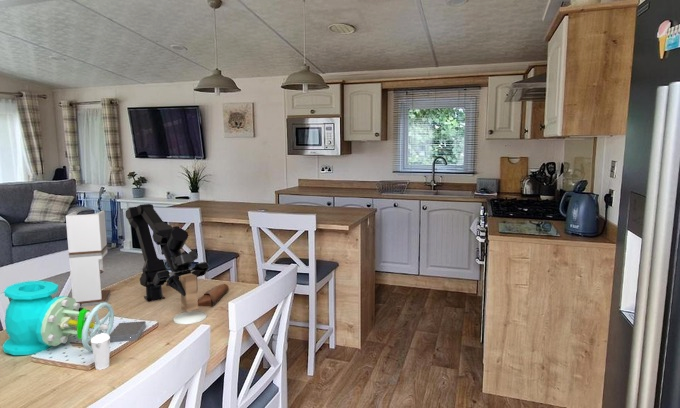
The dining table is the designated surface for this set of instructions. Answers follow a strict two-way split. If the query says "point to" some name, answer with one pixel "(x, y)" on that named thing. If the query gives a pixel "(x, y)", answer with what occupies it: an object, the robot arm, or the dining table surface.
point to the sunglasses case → (213, 295)
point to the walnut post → (189, 292)
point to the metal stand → (127, 331)
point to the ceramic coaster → (190, 317)
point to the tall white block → (87, 257)
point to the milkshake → (101, 350)
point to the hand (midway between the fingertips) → (190, 293)
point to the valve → (47, 318)
